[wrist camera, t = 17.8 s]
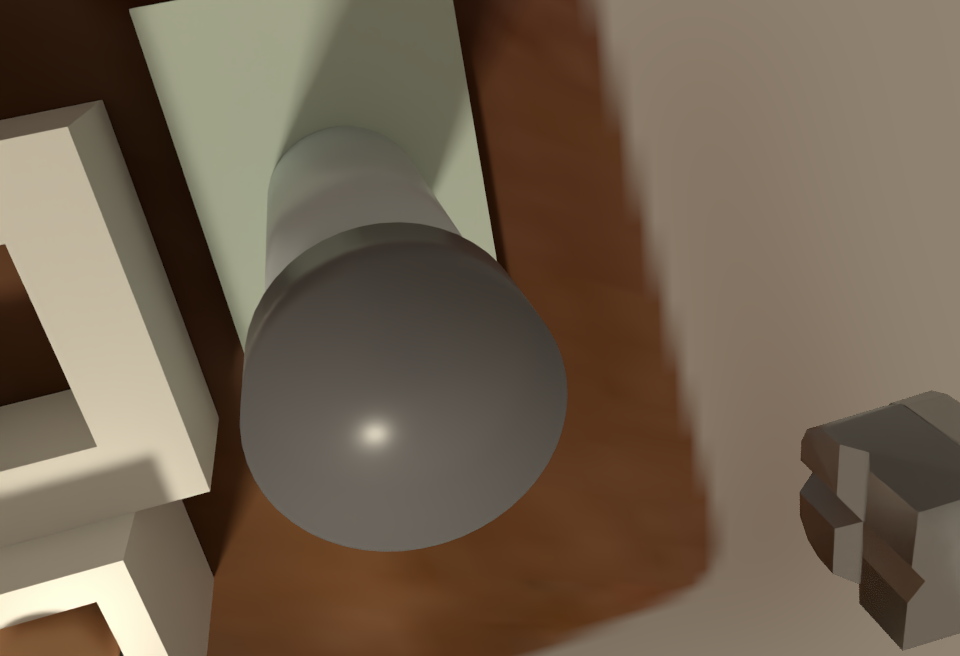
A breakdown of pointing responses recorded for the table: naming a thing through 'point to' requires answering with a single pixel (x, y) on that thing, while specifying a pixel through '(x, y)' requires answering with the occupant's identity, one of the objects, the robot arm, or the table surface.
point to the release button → (61, 635)
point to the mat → (306, 107)
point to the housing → (100, 400)
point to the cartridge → (389, 357)
